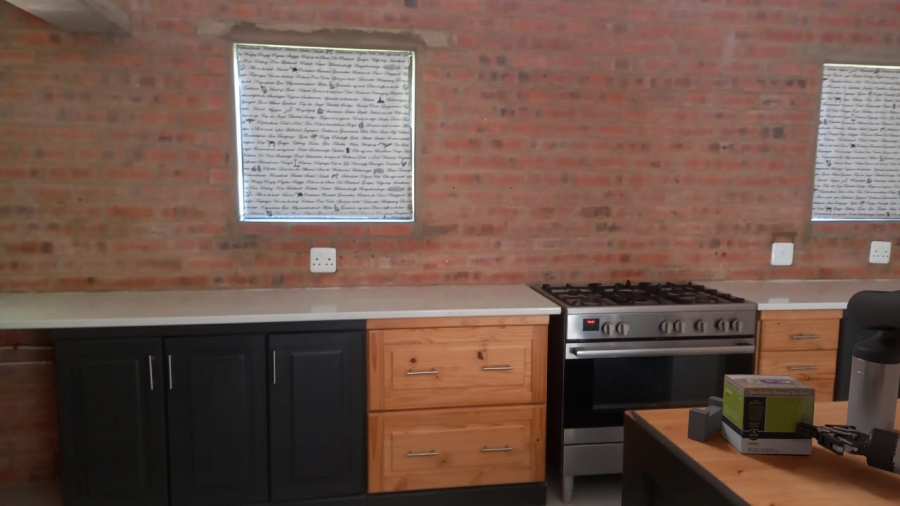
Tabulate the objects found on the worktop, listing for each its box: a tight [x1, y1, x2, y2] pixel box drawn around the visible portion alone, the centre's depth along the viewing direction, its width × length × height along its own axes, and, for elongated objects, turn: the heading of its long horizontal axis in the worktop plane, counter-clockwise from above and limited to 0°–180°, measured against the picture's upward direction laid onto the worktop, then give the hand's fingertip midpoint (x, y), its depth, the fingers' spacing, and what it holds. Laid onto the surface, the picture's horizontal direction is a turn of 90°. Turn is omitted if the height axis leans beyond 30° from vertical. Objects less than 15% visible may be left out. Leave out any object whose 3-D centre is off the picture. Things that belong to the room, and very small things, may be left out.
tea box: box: [721, 374, 816, 456], centre depth 128 cm, size 15×10×15 cm, turn 89°
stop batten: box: [687, 395, 723, 443], centre depth 136 cm, size 14×4×6 cm, turn 136°
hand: (796, 427), depth 123 cm, fingers closed
